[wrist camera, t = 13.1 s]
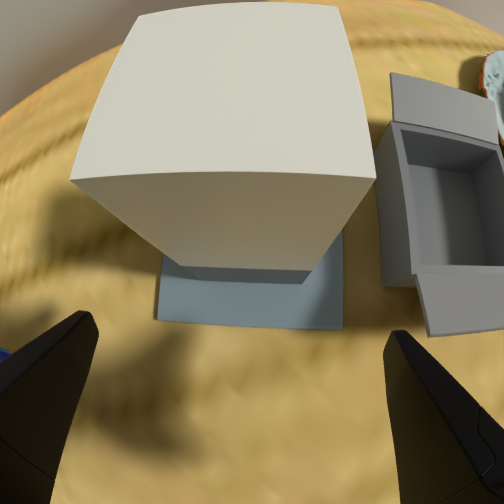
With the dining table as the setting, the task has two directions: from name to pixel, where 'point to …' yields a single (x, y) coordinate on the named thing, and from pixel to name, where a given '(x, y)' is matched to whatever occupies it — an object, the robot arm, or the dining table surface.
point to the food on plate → (494, 85)
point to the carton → (443, 205)
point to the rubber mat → (256, 298)
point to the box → (232, 138)
